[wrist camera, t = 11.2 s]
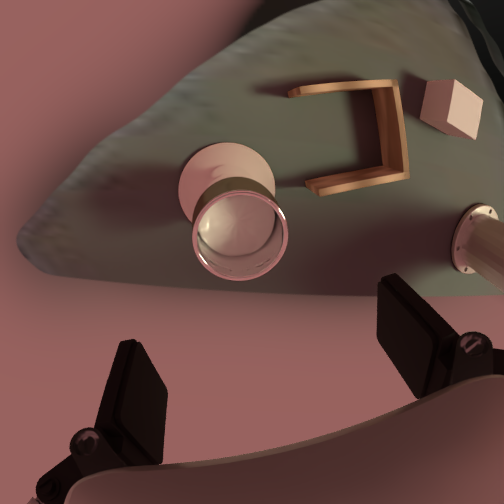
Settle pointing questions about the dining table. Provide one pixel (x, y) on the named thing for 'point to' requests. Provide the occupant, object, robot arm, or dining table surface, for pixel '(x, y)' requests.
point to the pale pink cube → (451, 108)
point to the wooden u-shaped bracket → (389, 135)
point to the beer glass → (237, 225)
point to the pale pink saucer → (215, 158)
